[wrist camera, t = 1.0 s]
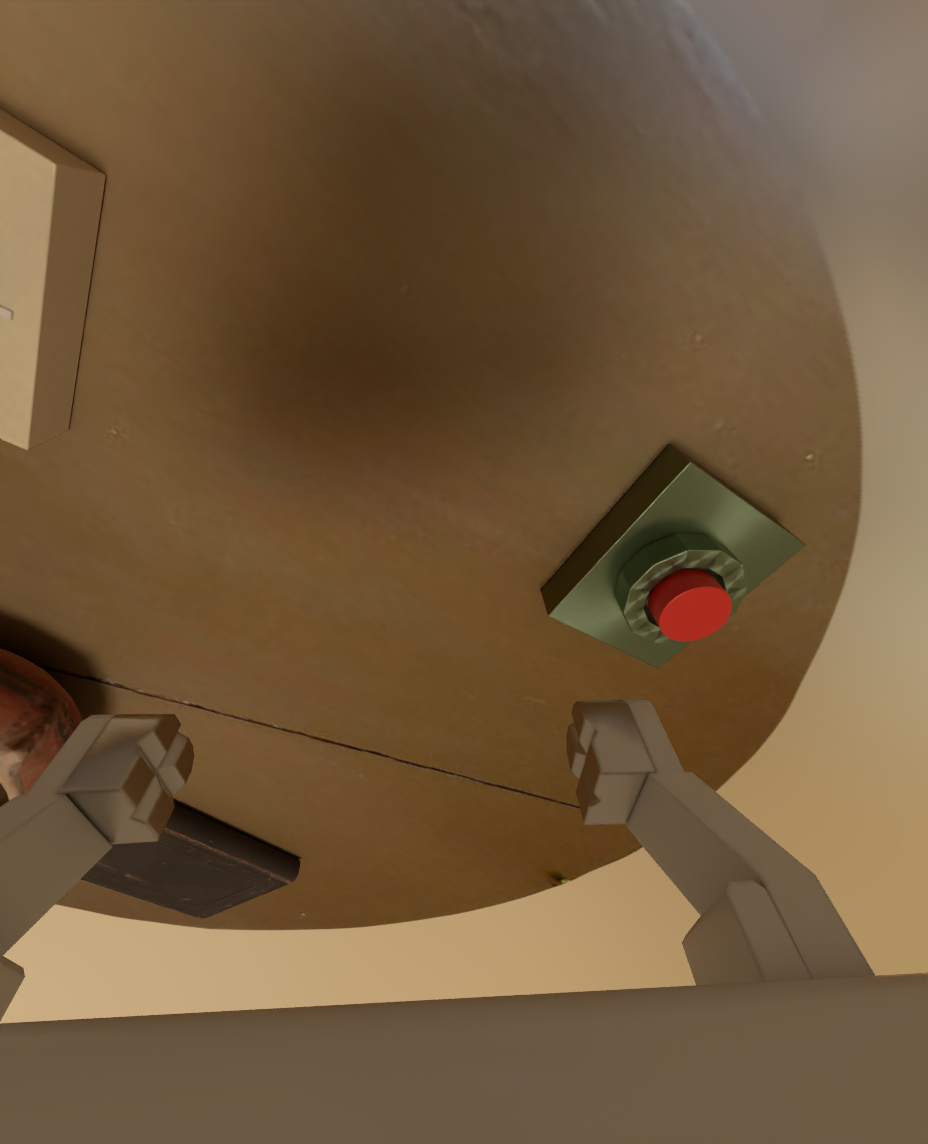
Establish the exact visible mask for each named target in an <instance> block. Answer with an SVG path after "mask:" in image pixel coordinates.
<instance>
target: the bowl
mask: <svg viewBox="0 0 928 1144" xmlns="http://www.w3.org/2000/svg"><path fill="white" fill-rule="evenodd" d="M81 722H82V719H81V716H80V714H79V711H78V709H77V707H76V705H75V703H74V701H73V700H72V698H71V696H70V695H69V694H68V693H67V692H66V691H65V689H64V688H63V687H62V686H61V685H60V684H59V683H58V682H57V681H56V680H55V679H54V678H53V677H51V676H50V675H49V674H48V673H47V672H46V671H44V670H43V669H41V668H40V667H38V666H37V665H35V664H34V663H32V662H30V661H28V660H26V659H24V658H22V657H20V656H18V655H16V654H13V653H11V652H9V651H7V650H3V649H0V807H1V806H3V805H4V804H5V803H7V802H8V801H10V800H11V799H13V798H14V797H16V796H18V795H26V794H27V793H28V791H29V790H30V789H31V787H32V786H33V785H34V783H35V782H36V781H37V779H38V778H39V777H40V776H41V774H42V773H43V772H44V770H45V769H46V768H47V766H48V765H49V764H50V762H51V761H52V760H53V758H54V757H55V756H56V754H57V753H58V752H59V750H60V749H61V748H62V746H63V745H64V744H65V743H66V741H67V740H68V739H69V737H70V736H71V735H72V733H73V732H74V731H75V729H76V728H77V727H78V725H79V724H80V723H81Z"/></svg>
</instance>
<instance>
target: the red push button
mask: <svg viewBox="0 0 928 1144" xmlns="http://www.w3.org/2000/svg"><path fill="white" fill-rule="evenodd" d="M648 608H649V611H650V613H651V614H652V616H653V618H654V620H655V621H656V623H657V625H658V626H659V628H660V630H661V632H662V633H663V634H664V635H665V636H667V637H668V638H670V639H673V640H676V641H692V640H697V639H700V638H703V637H705V636H708V635H710V634H711V633H713V632H715V631H716V630H717V629H719V628H720V627H721V626H722V625H723V624H724V623H725V622H726V620H727V619H728V617H729V615H730V613H731V609H732V601H731V598H730V596H729V595H728V593H727V592H726V591H725V590H724V589H723V587H722V586H721V585H720V584H719V583H718V581H717V580H716V579H715V578H714V577H713V576H712V575H711V574H710V573H708V572H706V571H704V570H700V569H684V570H680V571H677V572H675V573H673V574H670V575H668V576H667V577H665V578H664V579H662V580H661V581H660V582H659V583H658V584H657V585H656V586H655V587H654V588H653V590H652V592H651V593H650V596H649V599H648Z"/></svg>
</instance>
